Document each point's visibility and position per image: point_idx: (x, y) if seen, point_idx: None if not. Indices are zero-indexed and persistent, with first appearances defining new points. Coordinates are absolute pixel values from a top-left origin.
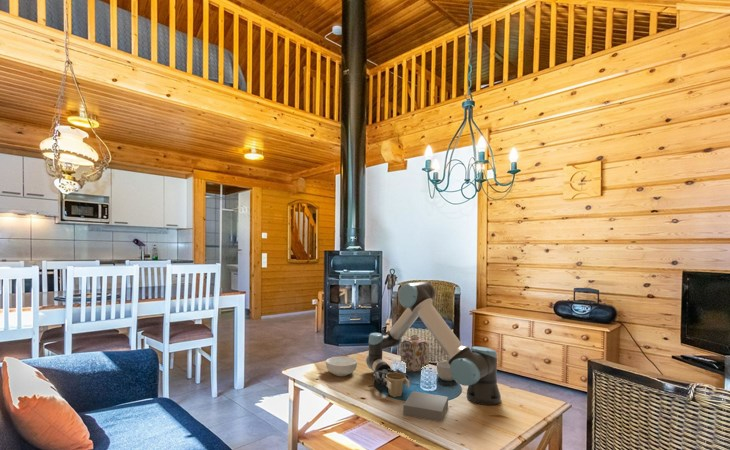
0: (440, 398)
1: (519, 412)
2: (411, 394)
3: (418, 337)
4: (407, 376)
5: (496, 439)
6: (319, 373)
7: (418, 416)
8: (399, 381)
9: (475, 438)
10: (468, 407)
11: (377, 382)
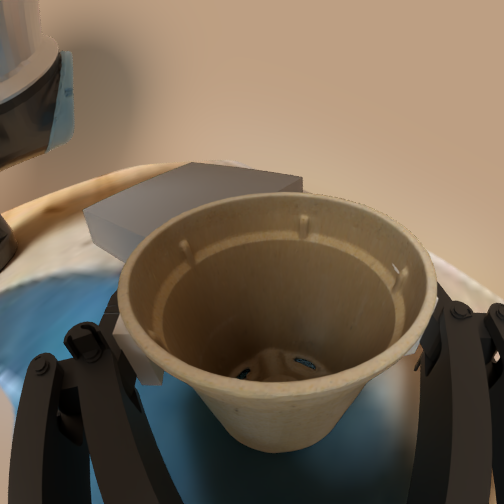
0: (118, 201)
1: (12, 219)
2: None
3: None
4: (53, 363)
5: (144, 168)
6: None
7: None
8: (262, 220)
9: (175, 166)
10: (55, 235)
11: (490, 359)
